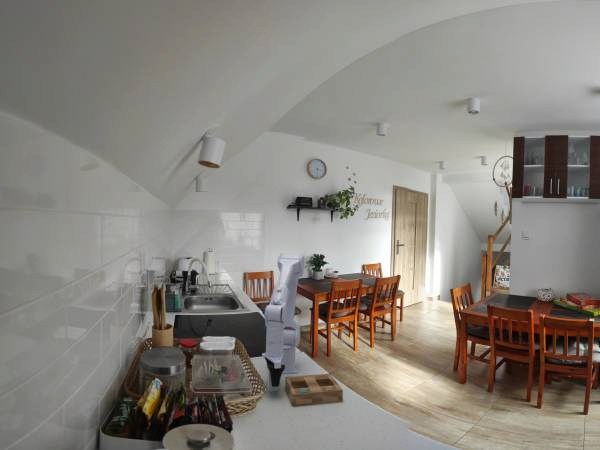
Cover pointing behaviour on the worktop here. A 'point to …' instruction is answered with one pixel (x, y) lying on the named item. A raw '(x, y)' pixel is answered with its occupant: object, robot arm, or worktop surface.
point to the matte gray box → (271, 384)
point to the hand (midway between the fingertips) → (273, 381)
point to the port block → (313, 389)
